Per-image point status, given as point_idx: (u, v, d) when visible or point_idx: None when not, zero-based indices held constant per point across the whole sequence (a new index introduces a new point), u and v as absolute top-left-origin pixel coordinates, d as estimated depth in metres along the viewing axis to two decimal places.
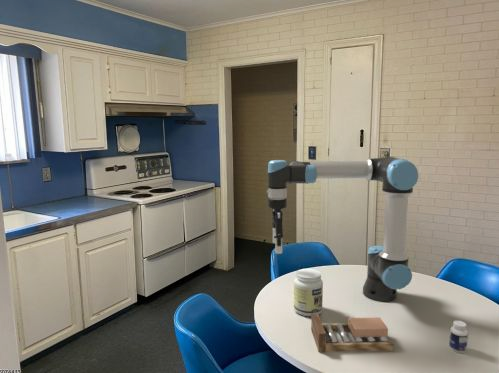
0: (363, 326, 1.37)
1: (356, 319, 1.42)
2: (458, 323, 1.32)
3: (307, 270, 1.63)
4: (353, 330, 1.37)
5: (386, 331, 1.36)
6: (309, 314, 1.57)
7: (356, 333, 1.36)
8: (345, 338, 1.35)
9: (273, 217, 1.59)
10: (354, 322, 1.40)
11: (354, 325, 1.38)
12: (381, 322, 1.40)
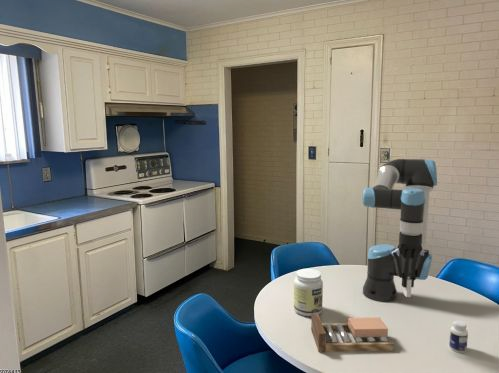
0: (363, 326, 1.37)
1: (356, 319, 1.42)
2: (458, 323, 1.32)
3: (307, 270, 1.63)
4: (353, 330, 1.37)
5: (386, 331, 1.36)
6: (309, 314, 1.57)
7: (356, 333, 1.36)
8: (345, 338, 1.35)
9: None
10: (354, 322, 1.40)
11: (354, 325, 1.38)
12: (381, 322, 1.40)
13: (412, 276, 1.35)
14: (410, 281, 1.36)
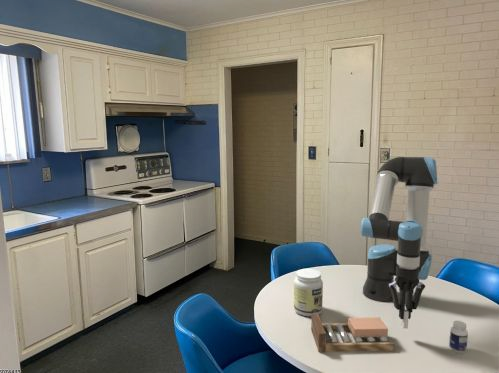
0: (363, 326, 1.37)
1: (356, 319, 1.42)
2: (458, 323, 1.32)
3: (307, 270, 1.63)
4: (353, 330, 1.37)
5: (386, 331, 1.36)
6: (309, 314, 1.57)
7: (356, 333, 1.36)
8: (345, 338, 1.35)
9: None
10: (354, 322, 1.40)
11: (354, 325, 1.38)
12: (381, 322, 1.40)
13: (409, 308, 1.38)
14: (407, 313, 1.38)
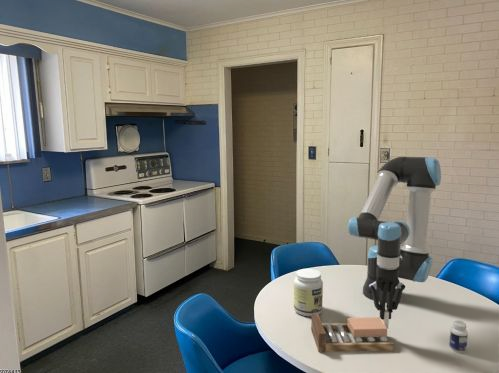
0: (363, 326, 1.37)
1: (355, 319, 1.42)
2: (458, 323, 1.32)
3: (307, 270, 1.63)
4: (352, 330, 1.37)
5: (385, 331, 1.36)
6: (309, 314, 1.57)
7: (356, 333, 1.36)
8: (345, 338, 1.35)
9: None
10: (353, 322, 1.40)
11: (353, 325, 1.38)
12: (380, 322, 1.40)
13: (389, 308, 1.37)
14: (387, 313, 1.37)
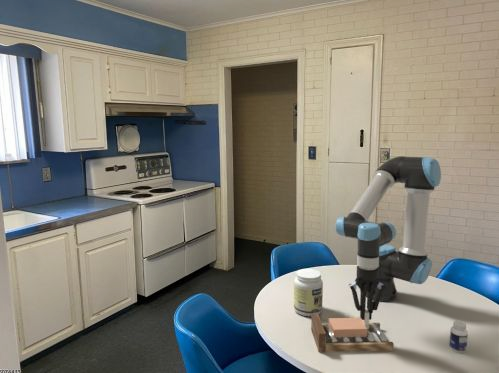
0: (343, 326, 1.37)
1: (336, 319, 1.42)
2: (458, 323, 1.32)
3: (307, 270, 1.63)
4: (332, 330, 1.37)
5: (365, 331, 1.36)
6: (309, 314, 1.57)
7: (335, 334, 1.36)
8: (345, 338, 1.35)
9: None
10: (333, 322, 1.40)
11: (333, 325, 1.38)
12: (360, 322, 1.40)
13: (370, 309, 1.37)
14: (368, 314, 1.37)
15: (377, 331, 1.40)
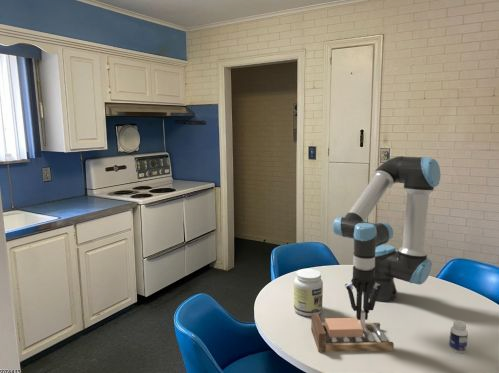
0: (339, 326, 1.37)
1: (332, 319, 1.42)
2: (458, 323, 1.32)
3: (307, 270, 1.63)
4: (328, 330, 1.37)
5: (361, 332, 1.36)
6: (309, 314, 1.57)
7: (331, 334, 1.36)
8: (345, 338, 1.35)
9: None
10: (330, 322, 1.40)
11: (329, 325, 1.38)
12: (356, 322, 1.40)
13: (366, 309, 1.37)
14: (364, 314, 1.37)
15: (377, 331, 1.40)
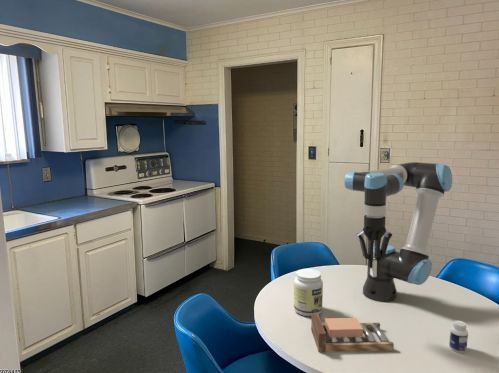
0: (339, 326, 1.37)
1: (332, 319, 1.42)
2: (458, 323, 1.32)
3: (307, 270, 1.63)
4: (328, 330, 1.37)
5: (361, 332, 1.36)
6: (309, 314, 1.57)
7: (331, 334, 1.36)
8: (345, 338, 1.35)
9: None
10: (329, 322, 1.40)
11: (329, 325, 1.38)
12: (356, 322, 1.40)
13: (377, 257, 1.41)
14: (375, 262, 1.41)
15: (377, 331, 1.40)
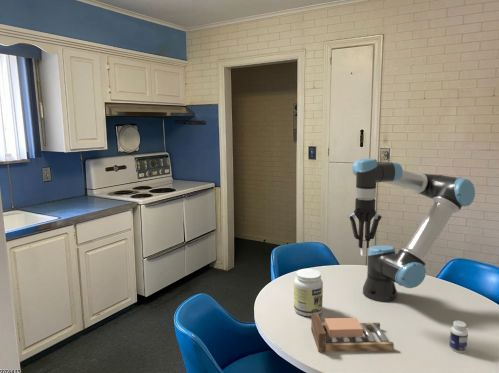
0: (339, 326, 1.37)
1: (332, 319, 1.42)
2: (458, 323, 1.32)
3: (307, 270, 1.63)
4: (328, 330, 1.37)
5: (361, 332, 1.36)
6: (309, 314, 1.57)
7: (331, 334, 1.36)
8: (345, 338, 1.35)
9: None
10: (329, 322, 1.40)
11: (329, 325, 1.38)
12: (356, 322, 1.40)
13: (367, 237, 1.51)
14: (365, 242, 1.51)
15: (377, 331, 1.40)
